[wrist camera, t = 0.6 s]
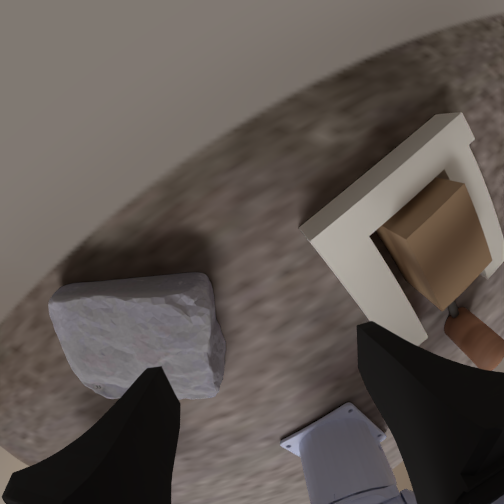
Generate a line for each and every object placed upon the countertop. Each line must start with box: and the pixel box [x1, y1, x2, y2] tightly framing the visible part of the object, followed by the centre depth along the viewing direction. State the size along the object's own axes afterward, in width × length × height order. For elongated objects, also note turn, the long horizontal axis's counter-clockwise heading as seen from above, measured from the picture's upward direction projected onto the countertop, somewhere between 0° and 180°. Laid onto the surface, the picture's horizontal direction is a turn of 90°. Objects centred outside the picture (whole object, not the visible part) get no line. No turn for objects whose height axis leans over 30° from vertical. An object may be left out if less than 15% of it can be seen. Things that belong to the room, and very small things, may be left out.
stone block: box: [49, 272, 226, 399], centre depth 20 cm, size 12×5×10 cm
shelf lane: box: [299, 112, 504, 346], centre depth 18 cm, size 13×13×3 cm
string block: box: [376, 177, 504, 371], centre depth 18 cm, size 16×5×6 cm, turn 40°
